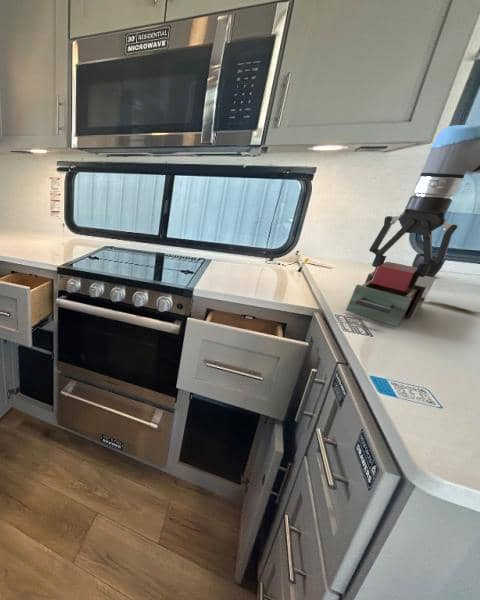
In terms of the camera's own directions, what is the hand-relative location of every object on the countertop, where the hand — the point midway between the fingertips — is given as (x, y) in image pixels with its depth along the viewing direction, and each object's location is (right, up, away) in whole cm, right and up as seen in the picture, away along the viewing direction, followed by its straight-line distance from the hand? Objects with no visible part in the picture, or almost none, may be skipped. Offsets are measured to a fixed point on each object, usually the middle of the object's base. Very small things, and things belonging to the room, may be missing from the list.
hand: (391, 282), depth 90 cm
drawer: (-3, -9, +2) cm, 9 cm away
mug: (+51, +4, +42) cm, 67 cm away
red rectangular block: (0, 0, 0) cm, 0 cm away
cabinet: (+10, -6, +12) cm, 17 cm away
